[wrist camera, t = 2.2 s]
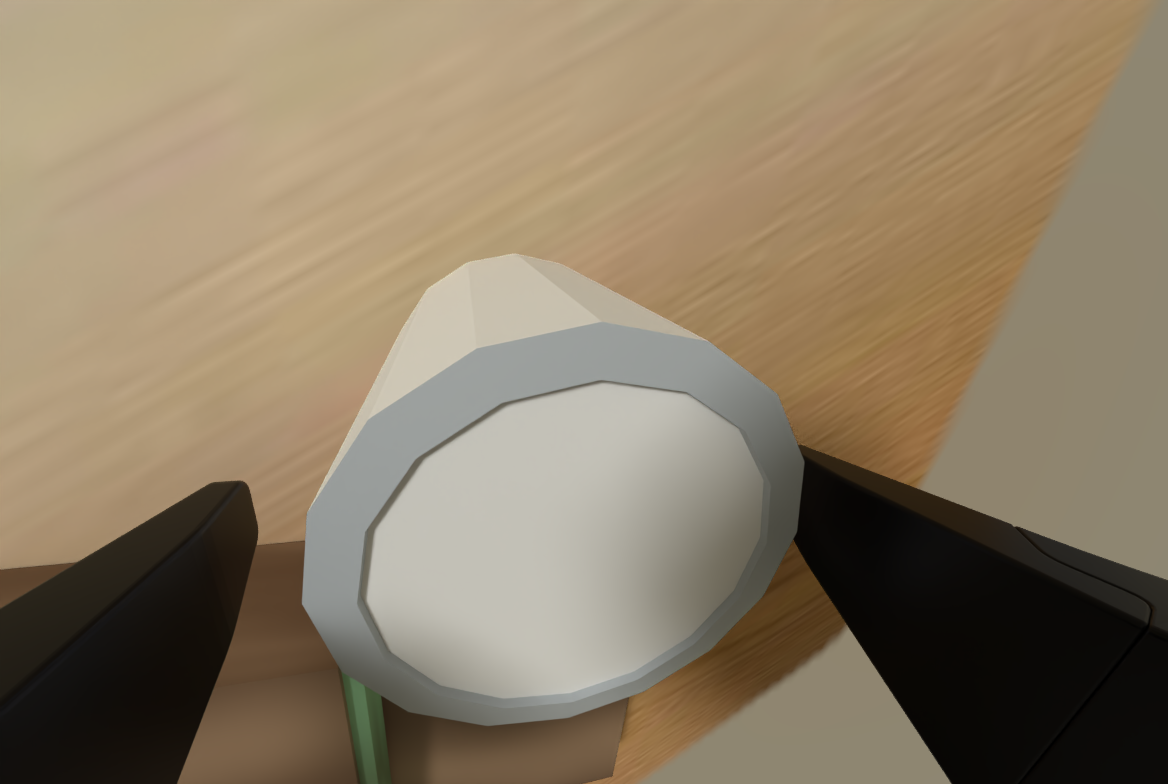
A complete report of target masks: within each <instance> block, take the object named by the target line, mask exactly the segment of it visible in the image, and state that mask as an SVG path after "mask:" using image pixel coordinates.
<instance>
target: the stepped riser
mask: <svg viewBox="0 0 1168 784" xmlns="http://www.w3.org/2000/svg"><path fill="white" fill-rule="evenodd" d="M304 557H305V541H300V542H290V543H279V544H269V545H258V546H256V549H255V553H254V557H253V560H252V564H251V568H250V572H249V576H248V580H247V584H246V588H245V592H244V596H243V600H242V604H241V608H240V612H239V616H238V620H237V624H236V627H235V631H234V635H233V638H232V641H231V644H230V647H229V650H228V653H227V655H226V658H225V661H224V663H223V666H222V668H221V671H220V674H219V676H218V679H217V681H216V684H215V687H214V689H213V692H212V694H211V697H210V700H209V702H208V705H207V707H206V710H205V713H204V715H203V718H202V720H201V723H200V726H199V728H198V731H197V733H196V736H195V739H194V741H193V744H192V746H191V749H190V752H189V754H188V757H187V759H186V762H185V765H184V767H183V770H182V772H181V775H180V778H179V780H178V783H177V784H583V783H587V782H592V781H596V780H600V779H604V778H608V777H612V776H613V771H614V766H615V761H616V757H617V752H618V747H619V742H620V737H621V733H622V728H623V723H624V718H625V713H626V709H627V704H628V699H629V697H627V698H624V699H621V700H618V701H615V702H612V703H610V704H607V705H604V706H601V707H598V708H595V709H592V710H589V711H587V712H584V713H581V714H578V715H575V716H572V717H569V718H562V719H553V720H543V721H533V722H523V723H513V724H503V725H493V726H484V725H479V724H473V723H467V722H462V721H456V720H450V719H445V718H439V717H434V716H428V715H422V714H417V713H411V712H408V711H406V710H404V709H403V708H401V707H399V706H398V705H396V704H394V703H393V702H391V701H389V700H388V699H386V698H384V697H383V696H381V695H379V694H378V693H376V692H374V691H373V690H371V689H369V688H368V687H366V686H364V685H363V684H361V683H359V682H358V681H356V680H354V679H353V678H351V677H349V676H348V675H346V674H344V673H343V672H342V671H341V670H340V668H339V666H338V665H337V663H336V661H335V659H334V658H333V656H332V654H331V653H330V651H329V649H328V648H327V646H326V644H325V642H324V641H323V639H322V637H321V636H320V634H319V632H318V630H317V629H316V627H315V625H314V624H313V622H312V620H311V619H310V617H309V615H308V613H307V612H306V610H305V608H304V607H303V605H302V593H303V575H304ZM74 564H75V563H69V564H59V565H48V566H38V567H27V568H17V569H6V570H0V608H1V607H3V606H5V605H6V604H8V603H10V602H11V601H13V600H15V599H16V598H18V597H20V596H21V595H23V594H25V593H26V592H28V591H30V590H31V589H33V588H35V587H37V586H38V585H40V584H42V583H43V582H45V581H47V580H48V579H50V578H52V577H53V576H55V575H57V574H58V573H60V572H62V571H63V570H65V569H67V568H68V567H70V566H72V565H74Z"/></svg>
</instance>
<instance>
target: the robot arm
mask: <svg viewBox="0 0 1168 784" xmlns="http://www.w3.org/2000/svg"><path fill="white" fill-rule="evenodd" d="M798 447H799V449H800V452H801V454H802V457H803V459H804V471H803V480H802V490H801V499H800V508H799V517H798V527H797V533H796V535H795V536H794V538H793V540H794V541H795V543H796V545H797V547H798V549H799V551H800V553H801V554H802V556H803V558H804V560H805V561H806V563H807V564H808V566H809V568H810V569H811V571H812V572H813V574H814V575H815V577H816V579H817V580H818V582H819V583H820V585H821V586H822V588H823V589H824V591H825V592H826V594H827V595H828V597H829V598H830V600H831V601H832V603H833V604H834V606H835V607H836V609H837V610H838V612H839V613H840V615H841V617H842V618H843V620H844V621H845V623H846V624H847V626H848V627H849V629H850V630H851V632H852V633H853V635H854V636H855V638H856V639H857V641H858V642H859V644H860V645H861V647H862V648H863V650H864V651H865V653H866V654H867V656H868V657H869V659H870V661H871V662H872V664H873V665H874V666H875V668H876V670H877V671H878V673H879V674H880V676H881V677H882V679H883V680H884V682H885V683H886V685H887V686H888V688H889V689H890V691H891V692H892V694H893V696H894V697H895V699H896V700H897V701H898V703H899V704H900V706H901V708H902V709H903V711H904V712H905V714H906V715H907V717H908V718H909V720H910V721H911V723H912V724H913V726H914V727H915V729H916V730H917V732H918V733H919V735H920V736H921V738H922V740H923V741H924V743H925V744H926V746H927V747H928V748H929V750H930V752H931V753H932V755H933V756H934V758H935V759H936V761H937V762H938V764H939V765H940V767H941V768H942V770H943V771H944V773H945V774H946V776H947V777H948V779H949V781H950V782H951V784H1168V580H1166V579H1163V578H1159V577H1157V576H1154V575H1151V574H1148V573H1145V572H1142V571H1139V570H1136V569H1133V568H1131V567H1128V566H1125V565H1122V564H1119V563H1116V562H1113V561H1111V560H1108V559H1104V558H1102V557H1099V556H1096V555H1093V554H1091V553H1087V552H1085V551H1082V550H1079V549H1077V548H1074V547H1071V546H1069V545H1066V544H1063V543H1060V542H1058V541H1055V540H1052V539H1050V538H1047V537H1044V536H1041V535H1039V534H1036V533H1034V532H1031V531H1028V530H1026V529H1023V528H1020V527H1013V526H1012V525H1011V524H1009V523H1007V522H1004V521H1002V520H999V519H996V518H993V517H991V516H988V515H986V514H983V513H980V512H978V511H975V510H972V509H969V508H967V507H964V506H962V505H959V504H956V503H954V502H951V501H948V500H946V499H943V498H940V497H938V496H935V495H933V494H930V493H927V492H925V491H922V490H919V489H917V488H914V487H911V486H909V485H906V484H904V483H901V482H898V481H896V480H893V479H890V478H888V477H885V476H882V475H880V474H877V473H874V472H872V471H869V470H866V469H864V468H861V467H859V466H856V465H853V464H851V463H848V462H845V461H843V460H840V459H837V458H835V457H832V456H829V455H827V454H824V453H821V452H819V451H816V450H814V449H811V448H808V447H806V446H803V445H798ZM257 540H258V524H257V520H256V515H255V511H254V507H253V502H252V498H251V494H250V490H249V487H248V485H247V484H246V483H245V482H243V481H225V482H213V483H210V484H208V485H206V486H205V487H203V488H201V489H200V490H198V491H196V492H195V493H193V494H191V495H190V496H188V497H186V498H185V499H183V500H181V501H180V502H178V503H176V504H175V505H173V506H171V507H169V508H168V509H166V510H164V511H163V512H161V513H159V514H158V515H156V516H154V517H153V518H151V519H149V520H148V521H146V522H144V523H143V524H141V525H139V526H138V527H136V528H134V529H132V530H131V531H129V532H127V533H126V534H124V535H122V536H121V537H119V538H117V539H116V540H114V541H112V542H111V543H109V544H107V545H106V546H104V547H102V548H100V549H99V550H97V551H95V552H94V553H92V554H90V555H89V556H87V557H85V558H84V559H82V560H80V561H79V562H77V563H75V564H74V565H72V566H70V567H68V568H67V569H65V570H63V571H62V572H60V573H58V574H57V575H55V576H53V577H52V578H50V579H48V580H47V581H45V582H43V583H42V584H40V585H38V586H37V587H35V588H33V589H31V590H30V591H28V592H26V593H25V594H23V595H21V596H20V597H18V598H16V599H15V600H13V601H11V602H10V603H8V604H6V605H5V606H3V607H1V608H0V784H177V783H178V780H179V778H180V775H181V772H182V770H183V767H184V765H185V762H186V759H187V757H188V754H189V752H190V749H191V746H192V744H193V741H194V739H195V736H196V733H197V731H198V728H199V726H200V723H201V720H202V718H203V715H204V713H205V710H206V707H207V705H208V702H209V700H210V697H211V694H212V692H213V689H214V687H215V684H216V681H217V679H218V676H219V674H220V671H221V668H222V666H223V663H224V661H225V658H226V655H227V653H228V650H229V647H230V644H231V641H232V638H233V635H234V631H235V627H236V624H237V620H238V616H239V612H240V608H241V604H242V600H243V596H244V592H245V588H246V584H247V580H248V576H249V572H250V568H251V564H252V560H253V557H254V553H255V549H256V545H257Z"/></svg>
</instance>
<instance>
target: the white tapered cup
mask: <svg viewBox="0 0 1168 784" xmlns="http://www.w3.org/2000/svg"><path fill="white" fill-rule="evenodd" d="M803 471H804V459H803V457H802V454H801V452H800V449H799V447H798V444H797V442H796V439H795V437H794V434H793V432H792V429H791V427H790V424H789V422H788V419H787V417H786V414H785V412H784V409H783V407H782V404H781V402H780V399H779V397H778V394H777V393H775V392H774V391H773V390H771V389H770V388H769V387H768V386H766V385H765V384H764V383H762V382H761V381H760V380H758V379H757V378H756V377H755V376H753V375H752V374H751V373H749V372H748V371H747V370H745V369H744V368H743V367H742V366H740V365H739V364H738V363H736V362H735V361H734V360H732V359H731V358H730V357H728V356H727V355H726V354H725V353H723V352H722V351H721V350H719V349H718V348H717V347H715V346H714V345H713V344H712V343H710V342H709V341H707V340H705V339H703V338H701V337H699V336H698V335H696V334H694V333H692V332H690V331H688V330H686V329H684V328H682V327H680V326H679V325H677V324H675V323H673V322H671V321H669V320H667V319H665V318H663V317H661V316H660V315H658V314H656V313H654V312H652V311H650V310H648V309H646V308H644V307H642V306H641V305H639V304H637V303H635V302H633V301H631V300H629V299H627V298H625V297H623V296H622V295H620V294H618V293H616V292H614V291H612V290H610V289H608V288H606V287H604V286H603V285H601V284H599V283H597V282H595V281H593V280H591V279H589V278H587V277H585V276H583V275H582V274H580V273H578V272H576V271H574V270H572V269H570V268H568V267H566V266H564V265H563V264H561V263H557V262H552V261H547V260H543V259H538V258H534V257H529V256H525V255H520V254H516V253H514V254H509V255H503V256H498V257H493V258H487V259H482V260H476V261H471V262H467V263H465V264H464V265H462V266H461V267H459V268H458V269H456V270H455V271H453V272H452V273H450V274H449V275H447V276H446V277H444V278H443V279H441V280H440V281H438V282H437V283H435V284H434V285H432V286H431V287H429V288H428V289H427V290H426V291H425V293H424V295H423V296H422V298H421V299H420V301H419V302H418V304H417V306H416V307H415V309H414V310H413V312H412V313H411V315H410V317H409V318H408V320H407V321H406V323H405V324H404V326H403V328H402V330H401V332H400V333H399V335H398V337H397V339H396V341H395V343H394V345H393V347H392V349H391V351H390V353H389V355H388V357H387V359H386V361H385V363H384V365H383V367H382V369H381V370H380V372H379V374H378V376H377V378H376V380H375V382H374V384H373V386H372V388H371V390H370V392H369V394H368V396H367V398H366V400H365V402H364V404H363V405H362V407H361V409H360V411H359V413H358V415H357V417H356V419H355V421H354V423H353V425H352V427H351V429H350V431H349V433H348V435H347V437H346V439H345V441H344V442H343V444H342V446H341V448H340V450H339V452H338V454H337V456H336V458H335V460H334V462H333V464H332V466H331V468H330V470H329V472H328V474H327V476H326V477H325V479H324V481H323V483H322V485H321V487H320V489H319V491H318V493H317V495H316V497H315V499H314V501H313V503H312V505H311V507H310V509H309V511H308V512H307V521H306V539H305V557H304V575H303V593H302V605H303V607H304V608H305V610H306V612H307V613H308V615H309V617H310V619H311V620H312V622H313V624H314V625H315V627H316V629H317V630H318V632H319V634H320V636H321V637H322V639H323V641H324V642H325V644H326V646H327V648H328V649H329V651H330V653H331V654H332V656H333V658H334V659H335V661H336V663H337V665H338V666H339V668H340V670H341V671H342V672H343V673H344V674H346V675H348V676H349V677H351V678H353V679H354V680H356V681H358V682H359V683H361V684H363V685H364V686H366V687H368V688H369V689H371V690H373V691H374V692H376V693H378V694H379V695H381V696H383V697H384V698H386V699H388V700H389V701H391V702H393V703H394V704H396V705H398V706H399V707H401V708H403V709H404V710H406V711H408V712H411V713H417V714H422V715H428V716H434V717H439V718H445V719H450V720H456V721H462V722H467V723H473V724H479V725H484V726H493V725H503V724H513V723H523V722H533V721H543V720H553V719H562V718H569V717H572V716H575V715H578V714H581V713H584V712H587V711H589V710H592V709H595V708H598V707H601V706H604V705H607V704H610V703H612V702H615V701H618V700H621V699H624V698H627V697H630V696H633V695H636V694H638V693H641V692H644V691H646V690H647V689H649V688H650V687H652V686H654V685H655V684H657V683H658V682H660V681H662V680H663V679H665V678H666V677H668V676H670V675H671V674H673V673H674V672H676V671H678V670H679V669H681V668H682V667H684V666H686V665H687V664H689V663H691V662H692V661H694V660H695V659H697V658H699V657H700V656H702V655H703V654H705V653H707V652H708V651H710V650H711V649H712V648H713V647H714V646H715V645H716V644H717V643H718V642H719V641H720V640H721V639H722V638H723V637H724V636H725V635H726V634H727V633H728V632H729V630H730V629H731V628H732V627H733V626H734V625H735V624H736V623H737V622H738V621H739V620H740V619H741V618H742V617H743V616H744V615H745V614H746V613H747V612H748V611H749V610H750V609H751V608H752V607H753V606H754V605H755V604H756V603H757V602H758V601H759V600H760V599H761V598H762V597H763V595H764V593H765V592H766V590H767V588H768V586H769V584H770V582H771V580H772V578H773V576H774V574H775V573H776V571H777V569H778V567H779V565H780V563H781V561H782V559H783V557H784V555H785V554H786V552H787V550H788V548H789V546H790V544H791V542H792V540H793V538H794V536H795V535H796V533H797V527H798V517H799V508H800V499H801V490H802V480H803Z"/></svg>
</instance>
